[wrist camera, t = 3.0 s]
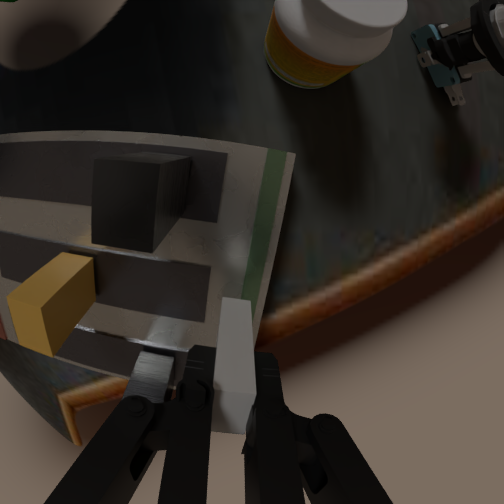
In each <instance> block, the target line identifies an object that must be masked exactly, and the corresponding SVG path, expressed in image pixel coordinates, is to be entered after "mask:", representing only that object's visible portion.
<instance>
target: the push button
mask: <svg viewBox="0 0 504 504" xmlns="http://www.w3.org/2000/svg"><path fill="white" fill-rule="evenodd" d="M470 12H471V17H470V18H467V19H464V20H462V21H459V22H457V23H454V24H452V25H449V26H448V25H447V24H446V23H440V24H431V25H425V26H423V27H421V28H419V29H417V30H415V31H413V32H412V33H411V36H412V38H413V40H414V42H415V44H416V45H417V47H418V49H419V51H420V54H418V55H417V58H418V60H419V62H420V64H421V66H422V67H423V68H424V67H427V68H428V70H429V72H430V75H431V77H432V79H433V82H434V84H435V86H436V87H444V89H445V92H446V93H447V94H448V96H449V99H450V102H451V104H452V106H455V105H457V104H458V103H459V105H463V104H465V103H466V102H465V99H464V97H463V94H462V91H461V90H462V88H461V85H460V83H462V82H466V81H469V80H471V79H472V76H471V73H477V72H483V71H490V70H496V71H497V72H498V73H500V74H501V75H502V76H504V0H479V2H477V3H475V4H474V5H473V6H471V8H470ZM469 29H472V31H469V32H466V33H460V32H463V31H466V30H469ZM457 33H460V34H457ZM454 34H455V35H454ZM422 57H423V59H424V62H425V63H423V61H422ZM484 58H487V59H488V61H485V62H480V63H475V64H470V65H467V63H468V62H473V61H478V60H481V59H484ZM454 92H455V93H454ZM459 96H461V97H462V101H460V100H459ZM452 97H454V98H455V101H452ZM457 100H458V101H457Z"/></svg>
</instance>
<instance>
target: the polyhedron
mask: <svg viewBox="0 0 504 504" xmlns="http://www.w3.org/2000/svg"><path fill="white" fill-rule="evenodd" d="M0 1H1V2H2V1H3V2H15V1H17V0H0Z"/></svg>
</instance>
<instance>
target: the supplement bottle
mask: <svg viewBox="0 0 504 504" xmlns="http://www.w3.org/2000/svg"><path fill="white" fill-rule="evenodd" d="M406 12H407V0H275V3H274V7H273V11H272V14H271V18H270V22H269V26H268V29H267V33H266V37H265V42H264V54H265V58H266V60H267V63H268V65H269V66H270V68H271V69H272V71H273V72H274V73H275V74H276V75H277V76H278V77H279V78H281V79H282V80H284V81H285V82H287V83H289V84H291V85H293V86H296V87H300V88H307V89H315V88H321V87H325V86H328V85H330V84H332V83H333V82H335V81H337V80H338V79H340V78H341V77H343V76H345V75H346V74H348V73H349V72H351V71H353V70H354V69H356V68H358V67H360V66H361V65H363V64H365V63H367V62H368V61H370V60H372V59H374V58H375V57H377V56H378V55H379V54H381V53H382V52H383V51H384V50H385V48H386V47H387V45H388V44H389V42H390V39H391V36H392V31H393V27H394V26H396V25H397V24H398V23H400V22H401V21H402V20H403V18H404V17H405V14H406Z"/></svg>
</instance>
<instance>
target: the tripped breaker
mask: <svg viewBox="0 0 504 504" xmlns="http://www.w3.org/2000/svg"><path fill="white" fill-rule="evenodd" d="M6 297H7V302H8V306H9V310H10V313H11V317H12V321H13V324H14V328H15V331H16V334H17V337H18V341H19V344H20V345H21V346H24V347H26V348H29V349H31V350H34V351H36V352H39V353H42V354H44V355H47V356H50V357H54V356H55V354H56V353H57V352H58V350H59V349H60V347H61V346H62V345H63V343H64V342H65V340H66V339H67V338H68V336H69V335H70V334H71V332H72V331H73V329H74V328H75V327H76V325H77V324H78V323H79V322H80V320H81V319H82V318H83V316H84V315H85V314H86V312H87V311H88V310H89V309H90V307H91V306H92V305H93V303H94V302H95V301H96V294H95V282H94V265H93V258H91V257H86V256H81V255H75V254H70V253H65V252H62V253H60V254H59V255H58V256H56V257H55V258H54V259H52V260H51V261H50V262H48V263H47V264H46V265H44V266H43V267H42V268H41V269H39V270H38V271H37V272H35V273H34V274H33V275H32V276H30V277H29V278H28V279H27V280H25V281H24V282H23V283H22V284H21V285H19V286H18V287H17V288H16V289H15V290H13V291H12V292H11V293H10V294H9V295H8V296H6Z"/></svg>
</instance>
